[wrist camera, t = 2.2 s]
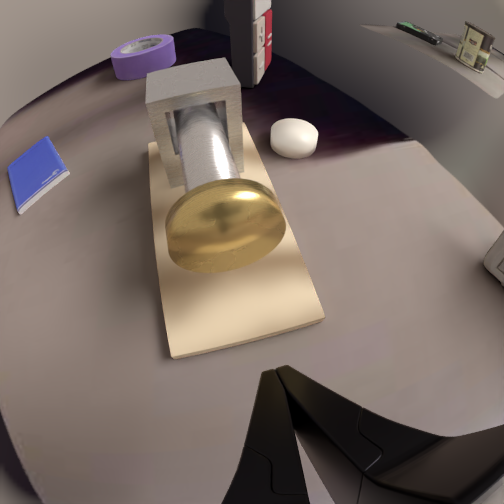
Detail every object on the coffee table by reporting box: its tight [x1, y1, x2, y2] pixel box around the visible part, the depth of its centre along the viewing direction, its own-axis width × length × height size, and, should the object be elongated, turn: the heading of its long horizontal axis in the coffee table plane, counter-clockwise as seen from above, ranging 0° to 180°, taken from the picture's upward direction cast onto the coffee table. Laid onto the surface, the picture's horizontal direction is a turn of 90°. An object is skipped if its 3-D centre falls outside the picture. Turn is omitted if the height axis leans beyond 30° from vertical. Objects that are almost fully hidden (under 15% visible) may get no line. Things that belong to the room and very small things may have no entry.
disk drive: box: [396, 22, 443, 45], centre depth 65 cm, size 10×3×15 cm
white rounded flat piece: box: [270, 118, 318, 159], centre depth 30 cm, size 5×5×2 cm
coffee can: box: [455, 21, 495, 73], centre depth 50 cm, size 10×10×14 cm
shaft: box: [165, 102, 286, 273], centre depth 21 cm, size 18×7×7 cm, turn 15°
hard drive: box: [7, 136, 70, 215], centre depth 31 cm, size 2×8×12 cm
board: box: [148, 123, 325, 359], centre depth 26 cm, size 23×11×1 cm, turn 15°
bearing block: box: [146, 58, 244, 189], centre depth 24 cm, size 6×7×9 cm
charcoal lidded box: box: [224, 0, 272, 88], centre depth 34 cm, size 11×4×15 cm, turn 166°
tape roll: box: [111, 35, 176, 80], centre depth 42 cm, size 12×12×5 cm
